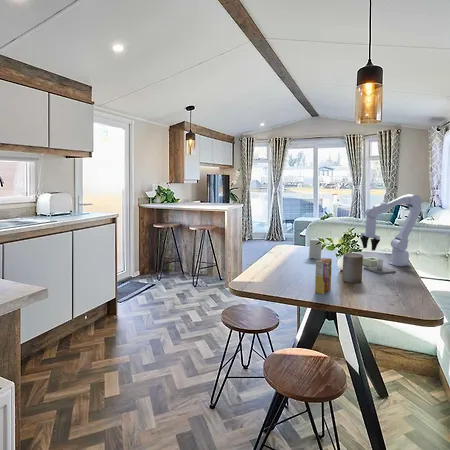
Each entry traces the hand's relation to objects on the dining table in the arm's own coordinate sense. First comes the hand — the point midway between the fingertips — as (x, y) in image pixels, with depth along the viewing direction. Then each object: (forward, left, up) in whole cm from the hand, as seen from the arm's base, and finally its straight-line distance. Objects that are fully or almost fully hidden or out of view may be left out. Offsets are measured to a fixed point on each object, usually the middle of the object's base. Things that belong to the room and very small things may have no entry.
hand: (369, 249), depth 224 cm
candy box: (+59, +38, -10) cm, 71 cm away
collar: (0, +3, -9) cm, 10 cm away
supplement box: (+23, -24, -10) cm, 34 cm away
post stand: (+5, +15, -9) cm, 19 cm away
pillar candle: (+34, +27, -10) cm, 45 cm away
